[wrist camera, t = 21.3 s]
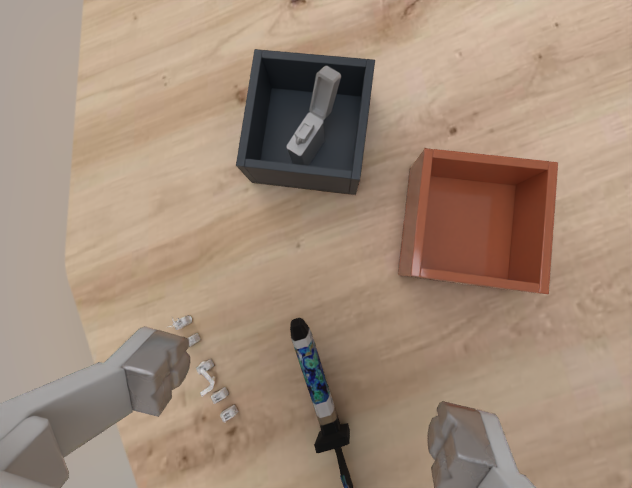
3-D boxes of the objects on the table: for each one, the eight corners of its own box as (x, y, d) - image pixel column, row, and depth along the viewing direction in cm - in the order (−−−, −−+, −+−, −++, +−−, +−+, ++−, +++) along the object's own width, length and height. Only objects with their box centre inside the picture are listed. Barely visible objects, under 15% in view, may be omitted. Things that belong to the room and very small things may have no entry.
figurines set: (240, 410, 32) (231, 423, 30) (217, 423, 32) (206, 438, 30) (188, 308, 34) (174, 312, 31) (165, 321, 34) (150, 326, 31)
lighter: (304, 171, 34) (296, 139, 26) (291, 163, 34) (278, 129, 26) (340, 117, 34) (342, 70, 26) (326, 109, 34) (324, 60, 26)
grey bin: (368, 93, 35) (375, 59, 29) (355, 195, 34) (360, 179, 28) (266, 84, 36) (254, 48, 30) (251, 182, 35) (235, 165, 29)
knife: (290, 313, 32) (284, 325, 27) (319, 306, 32) (318, 317, 27) (362, 602, 32) (367, 662, 27) (391, 597, 32) (401, 656, 27)
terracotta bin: (520, 180, 33) (558, 162, 27) (511, 290, 32) (548, 294, 26) (409, 168, 34) (424, 147, 28) (397, 275, 33) (410, 275, 27)
